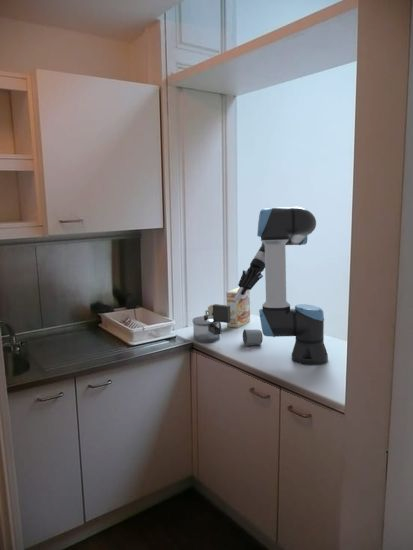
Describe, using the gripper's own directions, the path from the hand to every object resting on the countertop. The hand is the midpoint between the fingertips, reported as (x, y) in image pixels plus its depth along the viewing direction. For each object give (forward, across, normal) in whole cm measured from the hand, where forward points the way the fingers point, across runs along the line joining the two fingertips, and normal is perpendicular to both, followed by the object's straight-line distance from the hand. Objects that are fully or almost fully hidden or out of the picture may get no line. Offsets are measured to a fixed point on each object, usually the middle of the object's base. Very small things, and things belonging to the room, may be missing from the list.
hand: (236, 299), depth 225 cm
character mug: (+14, +18, -14) cm, 27 cm away
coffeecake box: (+2, +17, -26) cm, 31 cm away
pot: (+24, +7, -4) cm, 25 cm away
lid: (+16, +6, +1) cm, 17 cm away
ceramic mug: (+16, -13, -12) cm, 24 cm away
